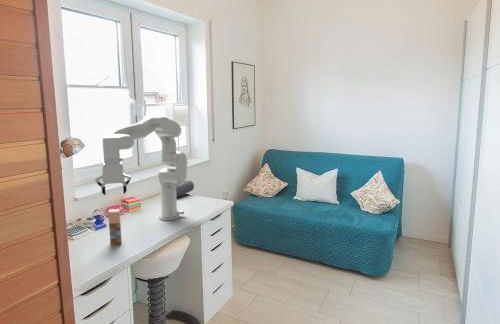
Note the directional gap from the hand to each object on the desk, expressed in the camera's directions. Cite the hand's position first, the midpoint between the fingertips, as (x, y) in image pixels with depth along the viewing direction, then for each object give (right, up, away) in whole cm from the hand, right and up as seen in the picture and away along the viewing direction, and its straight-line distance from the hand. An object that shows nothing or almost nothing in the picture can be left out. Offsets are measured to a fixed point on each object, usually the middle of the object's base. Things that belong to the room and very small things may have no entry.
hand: (114, 193), depth 185 cm
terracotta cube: (0, -14, +1) cm, 15 cm away
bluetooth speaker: (+16, -10, +95) cm, 96 cm away
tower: (0, -26, +3) cm, 26 cm away
